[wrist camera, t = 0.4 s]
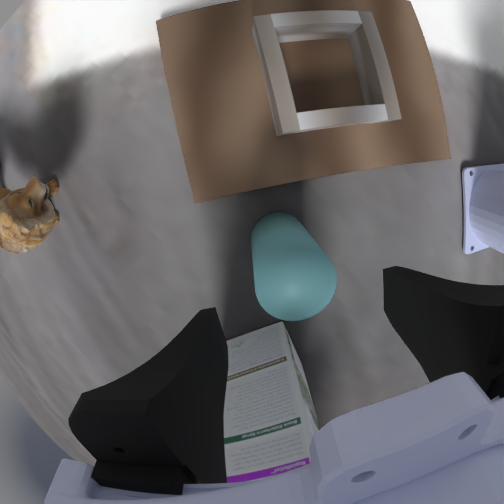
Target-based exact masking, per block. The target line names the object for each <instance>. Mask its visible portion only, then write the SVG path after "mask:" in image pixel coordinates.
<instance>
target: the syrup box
mask: <svg viewBox="0 0 504 504" xmlns="http://www.w3.org/2000/svg"><path fill="white" fill-rule="evenodd" d="M226 342H227V345H228V363H229V366H228V376H227V385H226V394H225V403H224V447H225V463H226V475H227V483H234V482H246V481H256V480H261V479H264V478H268V477H271V476H274V475H278V474H281V473H284V472H287V471H290V470H293V469H296V468H299V467H302V466H305V465H307V464H310V463H311V457H310V451H309V447H310V444H311V441H312V438H313V435H314V434H315V433H316V432H317V431H319V430H320V427H319V423H318V419H317V416H316V412H315V408H314V405H313V401H312V398H311V394H310V390H309V387H308V383H307V380H306V377H305V373H304V370H303V366H302V363H301V361H300V359H299V357H298V354H297V352H296V350H295V348H294V345H293V343H292V341H291V338H290V336H289V334H288V332H287V329H286V327H285V324H284V322H278V323H275V324H272V325H269V326H266V327H263V328H261V329H258V330H255V331H252V332H250V333H247V334H244V335H241V336H238V337H236V338H233V339H230V340H227V341H226Z"/></svg>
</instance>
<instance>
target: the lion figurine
mask: <svg viewBox="0 0 504 504" xmlns="http://www.w3.org/2000/svg"><path fill="white" fill-rule="evenodd" d="M58 189H59V187H58V183H57V182H56V180H55V179H52V180H51V181H49V182H47V183H45V184H43V183H42V182H40V181H39V179H38V178H37V177H35V176H33V177H31V179H30V181H29V182H28V184H27V186H26V187H25V188H22V189H17V190H15V191H11V190H9V189H5V188H3V187H0V247H1V248H3V249H5V250H6V251H10V252H13V253H19V252H27V251H29V250H31V249H35V248H36V247H38V246H39V245H40V244H42V242H43V241H44V239H45V237H46V236H47V235H48V234H49V233H50V232H51V231H52V229H53V226H55V225H57V224H58V222H59V215H58V213H56V212H55V211H54V207H53V205H52V203H51V202H50V201H49V199H48V198H47V197H48V196H49V195H54V194H56V193H57V191H58Z"/></svg>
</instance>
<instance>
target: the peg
mask: <svg viewBox="0 0 504 504" xmlns="http://www.w3.org/2000/svg"><path fill="white" fill-rule="evenodd" d="M251 249H252V261H253V272H254V284H255V293H256V297H257V299H258V301H259V303H260V305H261V306H262V308H263V309H264V310H265V311H266V312H267V313H269V314H270V315H272V316H273V317H276V318H278V319H281V320H286V321H299V320H304V319H307V318H310V317H312V316H314V315H316V314H318V313H319V312H320V311H322V310H323V309H324V308H325V307H326V306H327V305H328V303H329V302H330V301H331V299H332V297H333V295H334V292H335V289H336V284H337V276H336V271H335V268H334V266H333V264H332V262H331V261H330V259H329V258H328V257H327V255H326V254H325V253H324V251H323V250H322V249H321V248H320V246H319V245H318V244H317V243H316V241H315V240H314V239H313V238H312V236H311V235H310V234H309V233H308V231H307V230H306V229H305V228H304V226H303V225H302V224H301V223H300V221H299V220H298V219H297V218H295V217H294V216H292V215H291V214H288V213H285V212H273V213H269V214H267V215H265V216H263V217H262V218H261V219H259V220H258V221H257V223H256V224H255V226H254V227H253V230H252V233H251Z"/></svg>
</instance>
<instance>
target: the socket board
mask: <svg viewBox="0 0 504 504" xmlns="http://www.w3.org/2000/svg"><path fill="white" fill-rule="evenodd" d="M156 25H157V30H158V36H159V42H160V47H161V53H162V58H163V63H164V68H165V73H166V78H167V83H168V88H169V93H170V98H171V103H172V107H173V112H174V117H175V121H176V126H177V130H178V135H179V139H180V143H181V148H182V152H183V156H184V161H185V165H186V169H187V173H188V177H189V181H190V185H191V189H192V193H193V197H194V201H195V203H199V202H204V201H208V200H212V199H216V198H220V197H225V196H229V195H234V194H238V193H243V192H247V191H252V190H256V189H261V188H266V187H271V186H276V185H281V184H286V183H291V182H296V181H301V180H307V179H312V178H318V177H323V176H329V175H335V174H341V173H347V172H353V171H359V170H366V169H373V168H379V167H386V166H394V165H401V164H409V163H417V162H426V161H434V160H444V159H451V156H450V148H449V140H448V134H447V127H446V122H445V116H444V111H443V106H442V101H441V96H440V92H439V87H438V83H437V79H436V75H435V72H434V68H433V64H432V61H431V57H430V54H429V51H428V48H427V45H426V42H425V39H424V36H423V33H422V30H421V27H420V24H419V22H418V19H417V17H416V14H415V12H414V9H413V7H412V4H411V2H410V1H407V0H239V1H233V2H228V3H223V4H218V5H213V6H208V7H204V8H200V9H196V10H192V11H188V12H184V13H180V14H177V15H173V16H170V17H167V18H164V19H160V20H157V21H156Z"/></svg>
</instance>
